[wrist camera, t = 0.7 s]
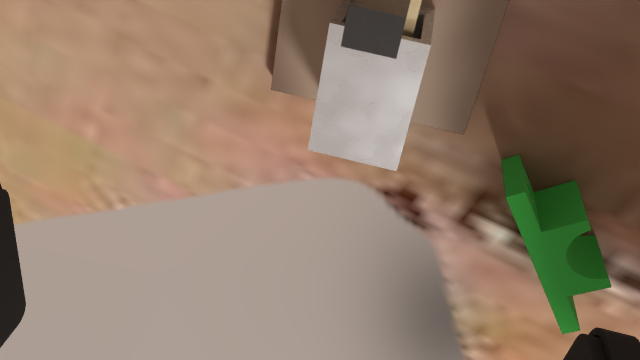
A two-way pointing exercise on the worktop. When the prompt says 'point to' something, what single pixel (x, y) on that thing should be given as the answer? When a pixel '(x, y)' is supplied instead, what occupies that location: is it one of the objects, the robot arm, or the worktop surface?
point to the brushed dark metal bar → (379, 25)
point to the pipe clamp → (556, 240)
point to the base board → (440, 70)
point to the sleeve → (368, 95)
